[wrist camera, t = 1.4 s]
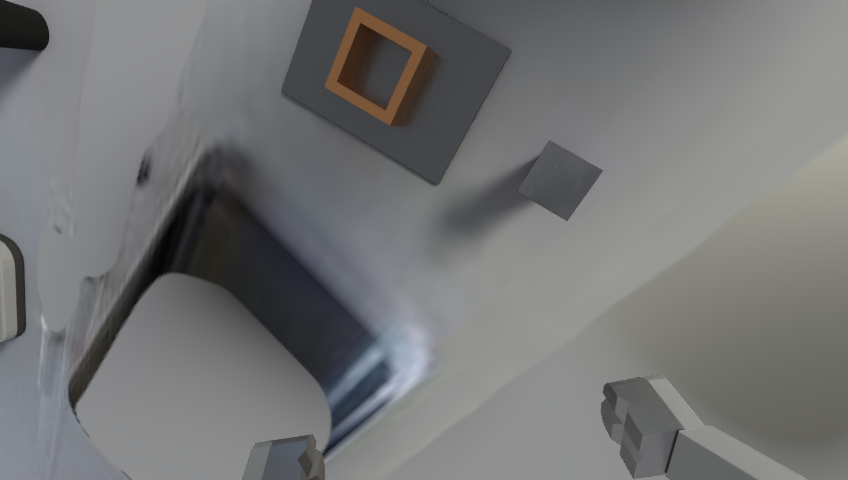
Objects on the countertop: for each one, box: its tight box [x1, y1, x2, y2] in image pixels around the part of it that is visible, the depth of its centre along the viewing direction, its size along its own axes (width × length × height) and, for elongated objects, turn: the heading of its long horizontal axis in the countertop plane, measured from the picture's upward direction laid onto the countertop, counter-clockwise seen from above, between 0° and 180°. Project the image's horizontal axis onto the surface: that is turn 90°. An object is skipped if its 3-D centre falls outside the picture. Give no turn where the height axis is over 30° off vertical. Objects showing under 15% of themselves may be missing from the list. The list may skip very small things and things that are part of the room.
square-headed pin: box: [517, 140, 603, 221], centre depth 32 cm, size 4×4×11 cm
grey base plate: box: [281, 0, 511, 185], centre depth 38 cm, size 14×20×4 cm
